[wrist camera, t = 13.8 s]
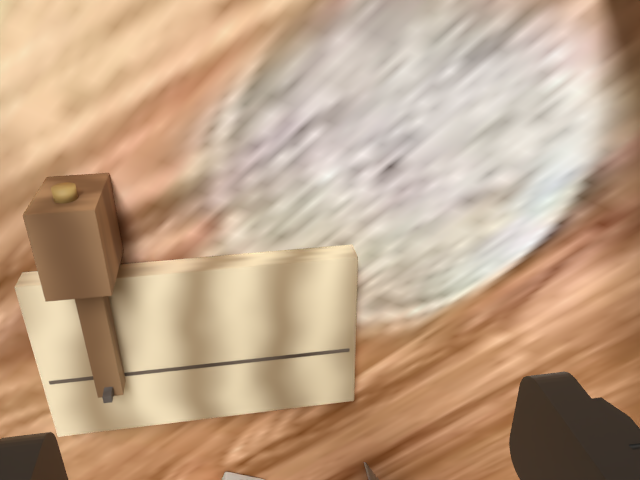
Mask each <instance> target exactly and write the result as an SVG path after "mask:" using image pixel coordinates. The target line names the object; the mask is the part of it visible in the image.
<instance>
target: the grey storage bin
mask: <svg viewBox="0 0 640 480" xmlns="http://www.w3.org/2000/svg"><path fill="white" fill-rule="evenodd" d="M364 466H365V469H366V473H367V476H368V480H379V479H378V478H377V477H376V475H375V474H374V473H373V471H372V470H371V469H370V467H369V466H368V465H367V464H366V462H364Z"/></svg>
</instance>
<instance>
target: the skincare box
mask: <svg viewBox="0 0 640 480" xmlns="http://www.w3.org/2000/svg"><path fill="white" fill-rule="evenodd" d="M222 480H265V479H261V478H256V477H250V476H246V475H241V474H236V473H232V472H225V473H224V476H223V478H222Z"/></svg>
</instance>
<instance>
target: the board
mask: <svg viewBox="0 0 640 480" xmlns="http://www.w3.org/2000/svg"><path fill="white" fill-rule="evenodd" d="M357 268H358V257H357V254H356V252H355V250H354V248H353V245H342V246H330V247H319V248H307V249H295V250H283V251H271V252H260V253H248V254H236V255H224V256H212V257H200V258H189V259H177V260H165V261H153V262H141V263H130V264H120V266H119V270H118V274H117V277H116V281H115V285H114V289H113V293H112V296H109V301H110V306H111V311H112V316H113V321H114V326H115V330H116V335H117V340H118V345H119V350H120V355H121V360H122V365H123V370H124V374H125V379H126V382H125V388H124V393H123V395H119V396H113V401H112V402H111V403H103V398H102V397H101V398H98V396H97V392H96V388H95V383H94V379H93V375H92V371H91V366H90V362H89V358H88V354H87V349H86V345H85V341H84V337H83V333H82V328H81V324H80V320H79V316H78V311H77V307H76V303H75V299H70V300H59V301H48V302H46V301H45V298H44V294H43V290H42V286H41V282H40V279H39V275H38V271H35V272H23V273H22V274H21V276H20V278H19V280H18V282H17V284H16V286H15V291H16V294H17V298H18V301H19V304H20V308H21V311H22V315H23V318H24V322H25V325H26V329H27V332H28V335H29V339H30V342H31V346H32V349H33V353H34V356H35V360H36V363H37V366H38V370H39V373H40V377H41V380H42V384H43V387H44V391H45V394H46V397H47V401H48V404H49V408H50V411H51V415H52V418H53V422H54V425H55V428H56V432H57V435H58V437H61V436H69V435H77V434H85V433H93V432H102V431H110V430H118V429H126V428H135V427H143V426H151V425H159V424H167V423H176V422H184V421H192V420H200V419H208V418H217V417H225V416H233V415H241V414H250V413H258V412H266V411H274V410H282V409H291V408H299V407H307V406H315V405H324V404H332V403H340V402H348V401H354V385H355V346H356V307H357Z"/></svg>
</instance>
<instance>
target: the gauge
mask: <svg viewBox="0 0 640 480" xmlns="http://www.w3.org/2000/svg"><path fill="white" fill-rule="evenodd" d="M23 218H24V222H25V226H26V229H27V233H28V237H29V241H30V245H31V248H32V252H33V256H34V260H35V263H36V267H37V271H38V275H39V279H40V282H41V286H42V290H43V294H44V298H45V301H46V302H48V301H59V300H70V299H75V303H76V307H77V311H78V316H79V320H80V324H81V328H82V333H83V337H84V341H85V345H86V349H87V354H88V358H89V362H90V366H91V371H92V375H93V379H94V383H95V388H96V392H97V396H98V398H101V397H102V398H103V403H111V402H112V401H113V396H119V395H123V393H124V388H125V382H126V379H125V374H124V370H123V365H122V360H121V355H120V350H119V345H118V340H117V335H116V330H115V326H114V321H113V316H112V311H111V306H110V301H109V296H112V293H113V289H114V285H115V281H116V277H117V274H118V270H119V266H120V262H121V258H122V254H123V246H122V241H121V235H120V230H119V224H118V219H117V213H116V208H115V202H114V197H113V191H112V186H111V180H110V175H109V173H101V174H85V175H69V176H54V177H47V178H46V179H45V181H44V182H43V184H42V185H41V187H40V189H39V190H38V192H37V193H36V195H35V197H34V198H33V200H32V201H31V203H30V204H29V206H28V208H27V209H26V211H25V212H24V214H23Z"/></svg>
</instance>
